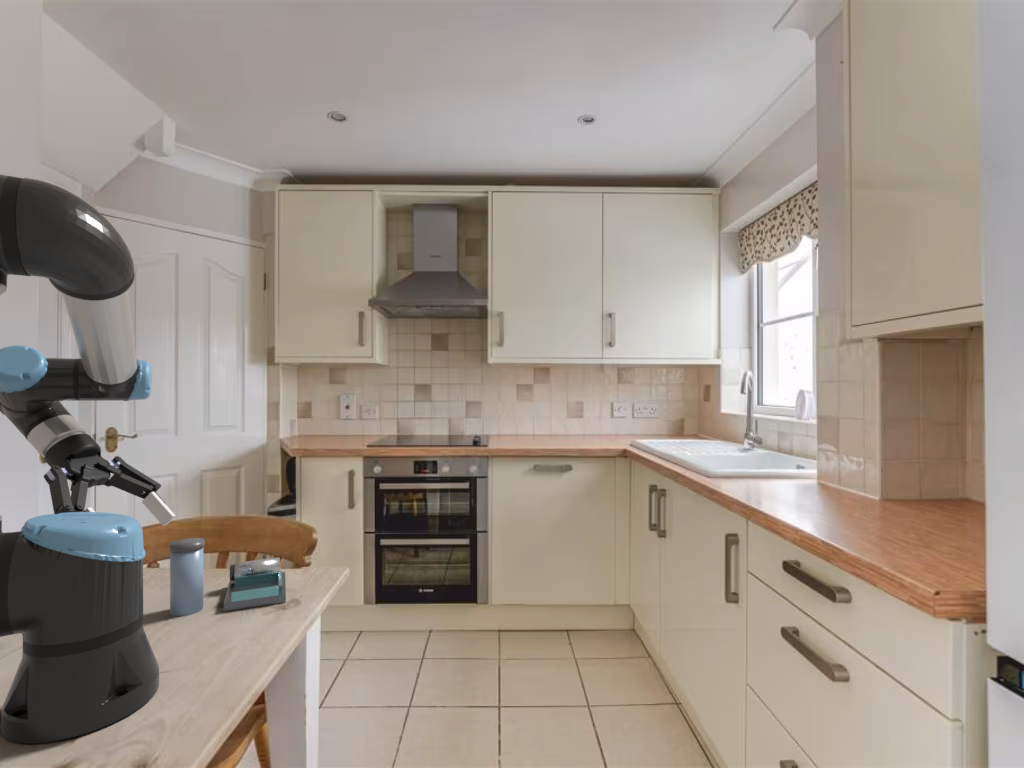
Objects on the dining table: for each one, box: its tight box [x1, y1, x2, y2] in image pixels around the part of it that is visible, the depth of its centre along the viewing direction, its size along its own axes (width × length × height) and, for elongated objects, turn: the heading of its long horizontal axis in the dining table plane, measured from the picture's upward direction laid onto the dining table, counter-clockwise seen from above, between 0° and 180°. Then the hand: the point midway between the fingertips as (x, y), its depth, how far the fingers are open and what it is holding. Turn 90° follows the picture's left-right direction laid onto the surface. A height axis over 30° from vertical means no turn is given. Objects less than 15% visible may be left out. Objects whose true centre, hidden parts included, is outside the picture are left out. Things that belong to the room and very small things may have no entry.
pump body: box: [168, 537, 206, 617], centre depth 93 cm, size 5×5×12 cm
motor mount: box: [223, 557, 287, 612], centre depth 100 cm, size 13×10×5 cm
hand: (141, 530), depth 94 cm, fingers open, 13 cm apart
